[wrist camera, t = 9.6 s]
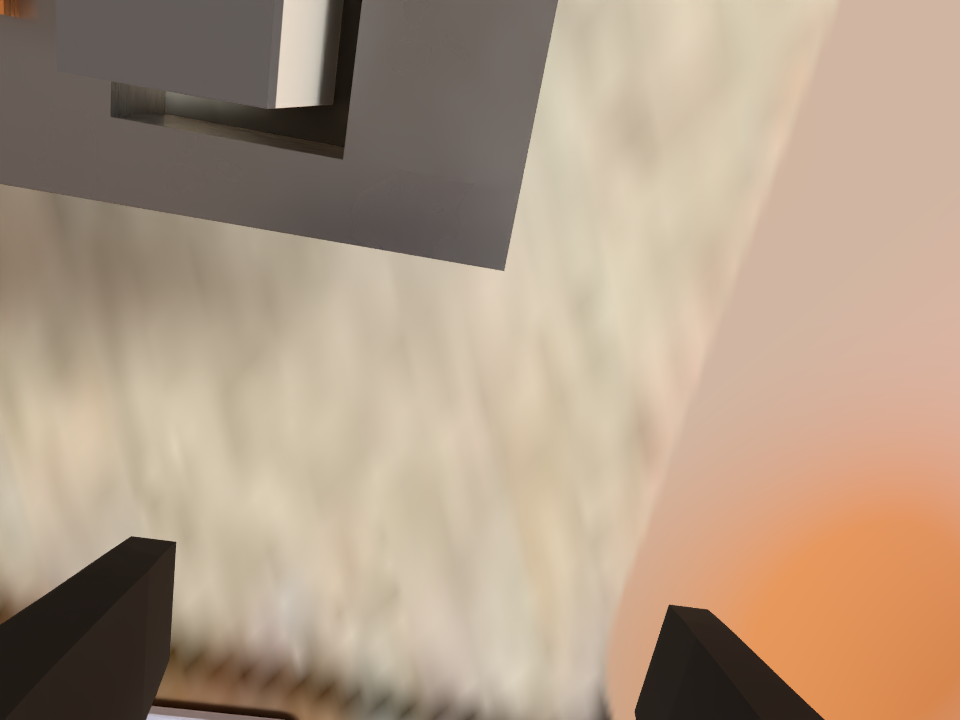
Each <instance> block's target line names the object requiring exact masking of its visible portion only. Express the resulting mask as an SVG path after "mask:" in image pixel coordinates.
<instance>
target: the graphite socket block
mask: <svg viewBox="0 0 960 720" xmlns="http://www.w3.org/2000/svg"><path fill="white" fill-rule="evenodd" d="M557 3H558V0H362V7H361V15H360V23H359V32H358V40H357V48H356V57H355V65H354V73H353V81H352V90H351V98H350V106H349V115H348V123H347V131H346V140H345V147H341V146H335V145H330V144H325V143H319V142H314V141H308V140H303V139H298V138H292V137H287V136H282V135H276V134H271V133H266V132H260V131H255V130H250V129H244V128H239V127H233V126H228V125H223V124H217V123H212V122H207V121H201V120H196V119H191V118H185V117H180V116H174V115H169V114H164V108H165V91H164V90H158V89H152V88H147V87H141V86H136V85H130V84H124V83H119V82H113V81H108V80H102V79H96V78H91V77H85V76H80V75H74V74H68V73H63V72H57V60H56V0H0V184H4V185H10V186H16V187H22V188H27V189H33V190H39V191H45V192H51V193H56V194H62V195H68V196H74V197H80V198H85V199H91V200H97V201H103V202H108V203H114V204H120V205H126V206H132V207H137V208H143V209H149V210H155V211H161V212H166V213H172V214H178V215H184V216H189V217H195V218H201V219H207V220H213V221H218V222H224V223H230V224H236V225H242V226H247V227H253V228H259V229H265V230H270V231H276V232H282V233H288V234H294V235H299V236H305V237H311V238H317V239H323V240H328V241H334V242H340V243H346V244H351V245H357V246H363V247H369V248H375V249H380V250H386V251H392V252H398V253H404V254H409V255H415V256H421V257H427V258H432V259H438V260H444V261H450V262H456V263H461V264H467V265H473V266H479V267H485V268H490V269H496V270H502V271H504V268H505V263H506V258H507V253H508V248H509V243H510V238H511V233H512V228H513V223H514V218H515V213H516V208H517V203H518V198H519V193H520V188H521V183H522V178H523V173H524V168H525V163H526V158H527V153H528V148H529V143H530V138H531V133H532V128H533V123H534V118H535V113H536V108H537V103H538V98H539V93H540V88H541V83H542V78H543V73H544V68H545V63H546V58H547V53H548V48H549V43H550V38H551V33H552V28H553V23H554V18H555V13H556V8H557Z"/></svg>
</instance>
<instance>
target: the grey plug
mask: <svg viewBox="0 0 960 720" xmlns="http://www.w3.org/2000/svg"><path fill="white" fill-rule="evenodd" d="M343 3H344V0H56V60H57V72H63V73H68V74H74V75H80V76H85V77H91V78H96V79H102V80H108V81H113V82H119V83H124V84H130V85H136V86H141V87H147V88H152V89H158V90H164V91H169V92H175V93H180V94H186V95H192V96H197V97H203V98H208V99H214V100H220V101H225V102H231V103H236V104H242V105H248V106H253V107H259V108H264V109H273V108H288V107H303V106H318V105H333V101H334V91H335V81H336V72H337V62H338V52H339V42H340V33H341V23H342V13H343Z"/></svg>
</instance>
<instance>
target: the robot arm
mask: <svg viewBox="0 0 960 720" xmlns="http://www.w3.org/2000/svg"><path fill="white" fill-rule="evenodd" d="M175 553H176V542H172V541H164V540H156V539H148V538H141V537H133V536H131V537H130V538H128V539H127V540H125V541H124V542H122V543H121V544H119V545H118V546H116V547H115V548H113V549H112V550H110V551H109V552H107V553H106V554H104V555H103V556H101V557H100V558H98V559H97V560H95V561H94V562H93V563H91V564H90V565H88V566H87V567H85V568H84V569H82V570H81V571H80V572H78V573H77V574H75V575H74V576H72V577H71V578H69V579H68V580H66V581H65V582H64V583H62V584H61V585H59V586H58V587H56V588H55V589H53V590H52V591H50V592H49V593H48V594H46V595H45V596H43V597H41V598H40V599H38V600H37V601H35V602H34V603H32V604H31V605H29V606H28V607H26V608H25V609H23V610H22V611H20V612H19V613H17V614H16V615H14V616H13V617H11V618H10V619H8V620H7V621H5V622H4V623H2V624H1V625H0V720H283V719H273V718H263V717H254V716H244V715H235V714H225V713H215V712H206V711H196V710H187V709H177V708H167V707H158V706H152V704H153V701H154V699H155V696H156V694H157V691H158V688H159V686H160V683H161V680H162V678H163V675H164V672H165V670H166V667H167V664H168V662H169V656H170V639H171V622H172V605H173V587H174V570H175ZM635 716H636V720H824V719H823V718H822V717H821V716H820V715H819V714H818V713H817V712H816V711H815V710H814V709H813V708H811V707H810V706H809V705H808V704H807V703H806V702H805V701H804V700H803V699H802V698H801V697H800V696H799V695H798V694H797V693H795V691H794V690H793V689H791V688H790V687H789V686H788V685H787V684H786V683H785V682H784V681H783V680H782V679H781V678H780V677H779V676H778V675H777V674H776V673H775V672H774V671H773V670H772V669H771V668H770V667H769V666H768V665H767V664H766V663H765V662H764V661H763V660H761V659H760V658H759V657H758V656H757V655H756V654H755V653H754V652H753V651H752V650H751V649H750V648H749V647H748V646H747V645H746V644H745V643H744V642H743V641H742V640H741V639H740V638H738V636H737V635H736V634H734V633H733V632H732V631H731V630H730V629H729V628H728V627H727V626H726V625H725V624H724V623H722V622H721V621H720V620H719V619H718V618H717V617H716V616H715V615H714V614H712V613H711V612H710V611H709V610H707V609H699V608H691V607H683V606H675V605H669V607H668V610H667V613H666V616H665V619H664V622H663V625H662V628H661V631H660V634H659V638H658V641H657V644H656V647H655V650H654V653H653V656H652V659H651V662H650V665H649V668H648V672H647V675H646V678H645V681H644V684H643V687H642V690H641V693H640V696H639V699H638V702H637V705H636V709H635Z"/></svg>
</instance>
